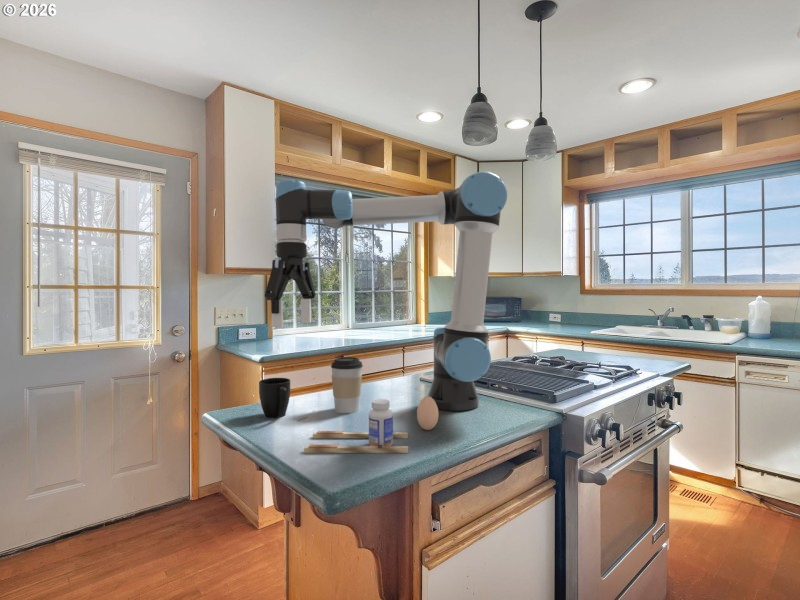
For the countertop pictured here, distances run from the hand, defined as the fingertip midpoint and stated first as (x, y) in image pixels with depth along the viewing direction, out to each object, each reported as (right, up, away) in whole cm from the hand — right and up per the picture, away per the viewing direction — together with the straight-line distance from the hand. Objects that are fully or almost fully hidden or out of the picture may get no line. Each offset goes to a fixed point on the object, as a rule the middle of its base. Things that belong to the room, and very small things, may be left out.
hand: (292, 324), depth 111 cm
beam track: (+18, -26, -15) cm, 35 cm away
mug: (-5, -25, +5) cm, 26 cm away
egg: (+35, -26, -5) cm, 43 cm away
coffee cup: (+13, -25, +12) cm, 30 cm away
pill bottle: (+23, -26, -15) cm, 38 cm away
